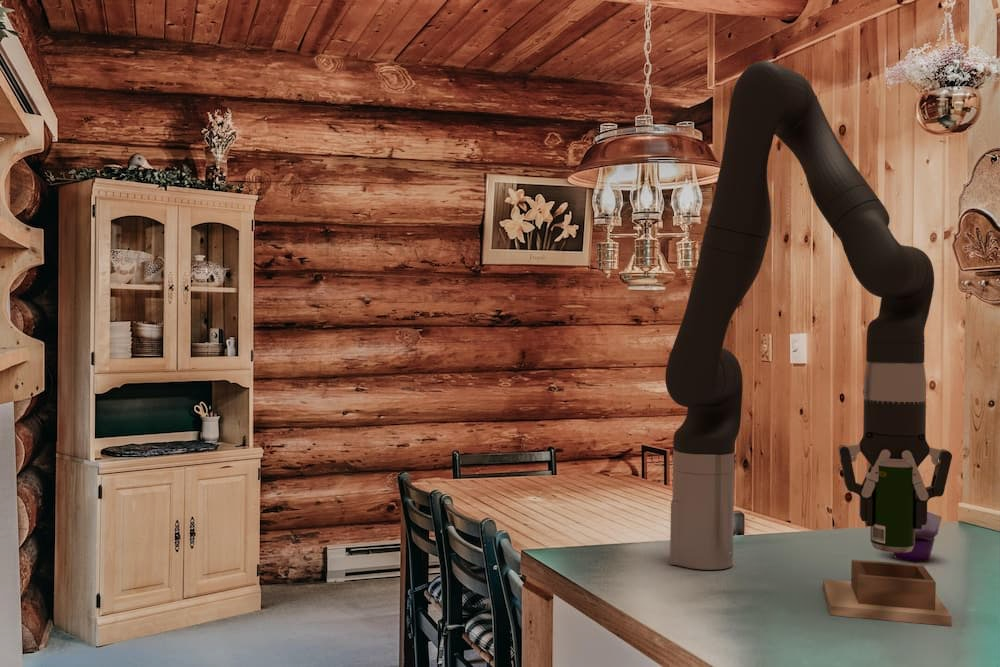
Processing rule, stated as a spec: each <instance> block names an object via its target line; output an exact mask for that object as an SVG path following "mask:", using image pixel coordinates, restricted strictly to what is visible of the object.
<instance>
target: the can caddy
mask: <svg viewBox="0 0 1000 667" xmlns="http://www.w3.org/2000/svg"><path fill="white" fill-rule="evenodd" d="M850 571H851V572H850V574H851V575H850V579H851V580H842V579H841V580H840V579H838V580H837V579H827V578H823V579H822V589H823V593H824V596H825V600H826V603H827V608H828V611H829V614H830V616H837V617H848V618H859V619H870V620H880V621H893V622H903V623H914V624H915V623H916V624H925V625H927V624H928V625H936V626H947V627H948V626H949V627H952V620H953V618H952V614H951V613H950V611H948V609H947V608H946V606H945V604H944V603H943V602H942V600H941V599H940V598H939V596H938V595H937V593H936V589H937V588H936V587H937V584H936V581H935V579H934V578H933V576H932V575H931V574H930V573H929V571H928V570H927V569H926V567H925V566H924V565H923V564H918V563H901V562H888V561H876V560H866V559H865V560H861V559H851V568H850Z"/></svg>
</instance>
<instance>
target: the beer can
mask: <svg viewBox="0 0 1000 667" xmlns="http://www.w3.org/2000/svg"><path fill="white" fill-rule="evenodd" d="M884 460H885V461H883V462H881V463H880V464H879V466H878V467H879V471H878V482H877V483H875V487H874V489H873V492H872V494H871V497H872V499H873V506H872V526H870V530H869V531H870V536H869V537H870V539H869V540H870V543H871V546H872V547H873V548H874V549H875V550H877V551H882V552H888V553H893V552H897V553H905V552H911V551H912V549H913V547H914V545H915V500H916V491H915V487H914V485H913V467H912V465H911V464H910V463H908V462H907V461H908V459H902V458H884ZM872 468H873V467H872V466H871V470H872ZM876 474H877V472H876ZM914 475H915V474H914Z"/></svg>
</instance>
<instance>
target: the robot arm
mask: <svg viewBox="0 0 1000 667" xmlns="http://www.w3.org/2000/svg"><path fill="white" fill-rule="evenodd" d="M726 124H727V125H726V129H725V132H726V133H725V139H724V145H723V151H722V152H723V153H722V158H721V162H720V168H719V171H718V175H717V180H716V184H715V190H714V193H713V198H712V202H711V207H710V211H709V213H708V216H707V221H706V225H705V229H704V233H703V237H702V241H701V245H700V249H699V256H698V259H697V260H698V261H697V265H696V268H695V273H694V275H693V280H692V283H691V288H690V291H689V295H688V300H687V304H686V306H685V307H686V308H685V311H684V314H683V318H682V319H681V324H680V326H679V329H678V332H677V335H676V337H675V340H674V343H673V345H672V349H671V351H670V354H669V357H668V359H667V363H666V367H665V376H664V378H665V379H664V380H665V386H666V387H665V388H666V390H667V392H668V395H669V396H670V398H671V400H672V401H673V402H674V403H675V404H677V405H679V406H681V407H685V408H687V411H686V416H685V418H684V421H683V423H682V424H681V425H680V426H679V428H677V429H676V430H675V432H674V434H673V439H672V440H673V442H672V446H673V448H672V449H673V451H672V452H673V453H672V494H671V495H672V500H671V502H670V536H669V537H670V539H669V540H670V541H669V542H670V543H669V544H670V545H669V565H674V566H675V565H676V566H679V567H684V568H689V569H695V570H703V571H705V570H706V571H709V570H710V571H712V570H713V571H714V570H716V571H717V570H723V569H728V568H731V567H733V565H734V562H733V560H734V559H733V558H734V509H735V508H734V506H735V505H734V504H735V501H734V500H735V498H734V497H735V454H736V453H735V448H736V447H735V446H736V441H737V437H738V436H739V433H740V430H741V422H742V421H741V420H742V409H743V408H742V406H743V392H744V390H743V388H744V387H743V386H744V385H743V384H744V383H743V372H742V367H741V365H740V362H739V360H738V358H737V357H736V355H735V354H734V353H732V351H731V350H728V349H727V348H724V342H725V338H726V335H727V330H728V328H729V325H730V322H731V320H732V318H733V315H734V313H735V312H736V311H737V309H738V308H739V306H740V304H741V303H742V300H744V298H745V296H746V295H747V294H748V291H749V290H750V288H752V285H753V284H754V282H755V280H756V278H757V277H758V275H759V272H760V270H761V267H762V265H763V261H764V257H765V253H766V250H767V244H768V242H769V238H770V234H771V228H772V227H771V226H772V210H771V209H772V208H771V200H770V192H769V190H770V189H769V183H768V164H769V158H770V153H771V148H772V144H773V141H774V138H775V136H776V137H777V138H778V139H779V140H780V141H781V142H782V143H783V144H785V146H786V147H787V148H788V149H789V150H790V151H791V152H792V153H793V155H794V156H795V158H796V160H798V163H800V166H801V168H802V170H803V172H804V175H805V179H806V182H807V186H808V189H809V191H810V194H811V196H812V199H813V201H814V203H815V205H816V207H817V208H818V210H819V212H820V213H821V214H822V216H823V218H824V219H825V221H826V222H827V224H828V225H829V226H830V228H831V230H832V231H833V232H834V234H835V235H836V236H837V237H838V239H839V240H840V242H841V245H842V248H843V249H842V250H843V251H844V254H845V256H846V259H847V261H848V263H849V267H850V268H851V270H852V273H853V275H854V277H855V278H856V280H857V281H858V283H859V284H861V286H862V287H863V289H865V290H866V291H867V292H868V293H869V294H872V295H873V296H876V297H878V298H881V299H880V304H879V305H880V306H879V311H878V316H877V317H876V318H874V319H872V320H871V321H870V322H869V323H868V325H867V330H866V344H865V345H866V346H865V348H866V350H865V354H866V355H865V359H866V360H865V361H866V363H865V370H864V371H865V372H864V377H863V388H862V394H863V415H862V416H863V417H862V419H863V422H862V423H863V426H862V427H863V431H862V433H863V434H862V438H861V440H859V441H860V442H859V443H858V444H853V445H845V444H840V445H839V446H838V448H837V452H838V455H839V461H840V465H841V470H842V475H843V480H844V481H843V482H844V485H845V488H846V489H847V491H848V492H850V493H854V494H857V495H858V496H859V517H860V520H861V522H864V524H865V526H866V527H871V526H872V506H873V499H872V497H871V494H872V492H873V489H874V487H875V483H877V482H878V471H879V467H878V466H879V464H880V463H881V462H883V461H885V460H884V458H902V459H908V461H907V462H908V463H910V464H911V465H912V467H913V485H914V487H915V491H916V500H915V529H922V525H926V523H927V512H928V503H929V500H930V499H932V498H936V497H938V498H939V497H942V496H943V495H944V494H945V490H946V485H947V480H948V476H949V471H950V467H951V462H952V458H953V454H952V453H951V452H950V451H949V450H947V449H946V448H945V449H944V448H942V449H939V448H935V447H931V446H930V445H929V444H928V442H927V438H926V437H927V436H926V434H927V433H926V427H927V426H926V425H927V423H926V422H927V417H926V416H927V415H926V414H927V376H926V369H925V343H926V342H925V328H926V325H927V321H928V318H929V314H930V309H931V305H932V300H933V296H934V295H933V294H934V289H935V288H934V287H935V271H934V266H933V264H932V263H933V262H932V261H931V259H930V257H929V255H927V254H926V252H924V251H923V250H922V249H920V248H917V247H915V246H910V245H903V244H901V243H899V241H897V239H896V238H895V236H894V235H893V233H892V231H891V230H890V228H889V226H890V225H889V224H890V219H891V218H890V215H889V212H888V210H887V208H886V207H885V205H884V204H883V203H882V200H880V198H879V197H878V196H877V194H876V193H875V191H874V189H873V188H871V185H869V183H868V182H867V181H866V179H865V178H864V177H863V175H862V174H861V173H860V171H859V169H858V168H857V167H856V166H855V164H854V162H852V160H851V159H850V157H849V155H848V154H847V152H846V151H845V150H844V148H843V146H842V144H841V143H840V141H839V139H838V137H837V136H836V134H835V132H834V131H833V129H832V126H831V124H830V122H828V119H827V116H826V115H825V113H824V111H823V108H822V105H821V104H820V102H819V98H818V97H817V96H816V94H815V91H814V89H813V87H812V86H811V84H810V82H809V80H807V78H806V77H805V76H803V75H802V74H800V73H799V72H796V71H794V70H793V69H789V68H788V67H785V66H782V65H780V64H778V63H775V62H772V61H767V60H762V61H757V62H754V63H752V64H751V65H749V66H748V67H746V69H745V70H744V71H742V73H741V74H740V75H739V77H738V79H737V80H736V83H735V85H734V86H733V91H732V95H731V99H730V103H729V109H728V115H727V123H726ZM859 453H861V454H862V455H863V457H864V458H865V459H866V461H867V462H868V463H869V465H868V467H867V470H866V471H865V475H864V477H863V480H862V483H858V482H856V476H855V472H854V467H853V463H854V462H856V460H857V459H858V458H857V456H858V454H859ZM928 456H930V461H931V463H932V464H933V466H935V467H934V469H933V470H934V471H933V474H932V479H931V482H930V486H925V484H924V480H923V478H922V476H921V473H920V471H919V469H918V468H919V467H920V465H922V463H923V462H924V461H925V459H926V458H927V457H928ZM871 466H872V467H873V468H872V470H871ZM876 472H877V474H876ZM914 474H915V475H914Z"/></svg>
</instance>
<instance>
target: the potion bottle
mask: <svg viewBox="0 0 1000 667" xmlns="http://www.w3.org/2000/svg"><path fill="white" fill-rule="evenodd" d="M941 521H942V516H941V515H938V514H935V513H932V512H929V511H927V523H926V525H922V529H915V545H914V547H913V549H912V551H911V552H905V553H897V552H892V553H893V556H896V558H897V560H899V561H903V562H910V563H914V564H917V563H928V562H930V561H931V560H932V559H931V555H932V551H933V547H934V542H935V539H936V538H935V537H936V536H937V535H938V534H939V530H940V526H941ZM896 558H895V559H896Z"/></svg>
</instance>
